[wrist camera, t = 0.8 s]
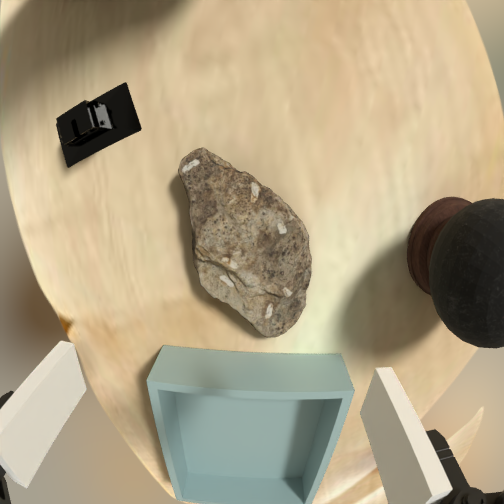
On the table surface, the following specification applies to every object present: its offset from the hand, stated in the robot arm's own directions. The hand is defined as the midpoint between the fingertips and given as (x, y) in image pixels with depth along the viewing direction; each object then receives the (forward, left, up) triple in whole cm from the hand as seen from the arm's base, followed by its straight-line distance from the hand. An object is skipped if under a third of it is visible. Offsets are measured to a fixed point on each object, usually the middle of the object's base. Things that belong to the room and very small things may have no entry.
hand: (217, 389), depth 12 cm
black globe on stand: (-2, +23, -19) cm, 30 cm away
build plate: (-13, -15, -20) cm, 28 cm away
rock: (-1, +1, -19) cm, 19 cm away
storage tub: (+24, +2, -19) cm, 31 cm away
